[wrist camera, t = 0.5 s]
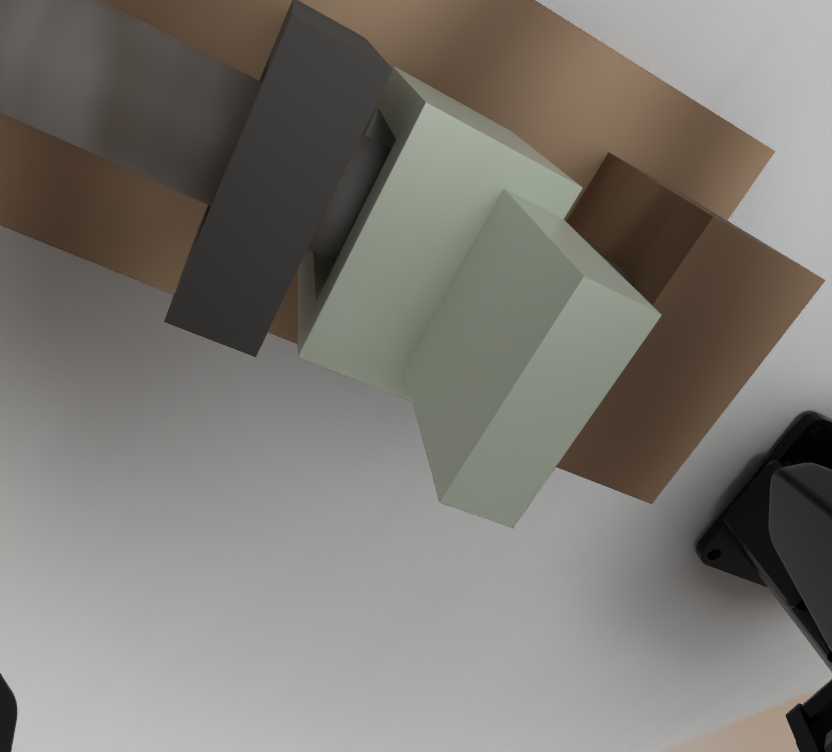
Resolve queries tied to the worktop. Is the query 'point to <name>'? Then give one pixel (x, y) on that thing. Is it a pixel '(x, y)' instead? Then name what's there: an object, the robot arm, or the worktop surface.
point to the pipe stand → (435, 66)
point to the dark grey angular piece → (279, 179)
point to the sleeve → (472, 300)
